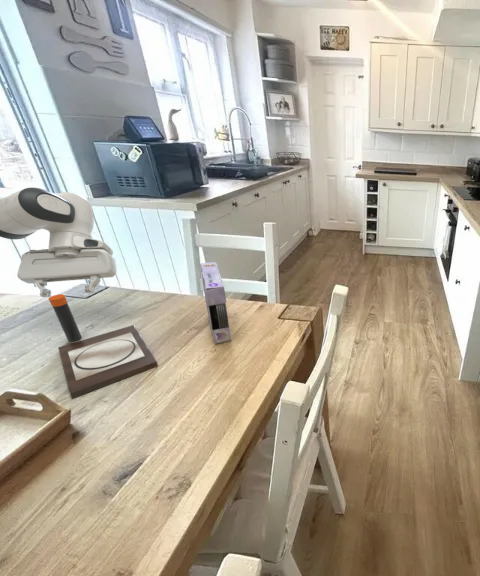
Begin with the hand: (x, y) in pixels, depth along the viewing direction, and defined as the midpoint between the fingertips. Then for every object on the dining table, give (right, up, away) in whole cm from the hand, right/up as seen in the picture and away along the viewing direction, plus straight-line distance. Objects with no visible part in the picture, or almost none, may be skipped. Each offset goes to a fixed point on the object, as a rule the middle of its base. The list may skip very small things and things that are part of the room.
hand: (68, 294), depth 87 cm
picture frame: (+15, -16, -5) cm, 23 cm away
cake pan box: (+36, -10, +10) cm, 39 cm away
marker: (+1, -12, +1) cm, 12 cm away
